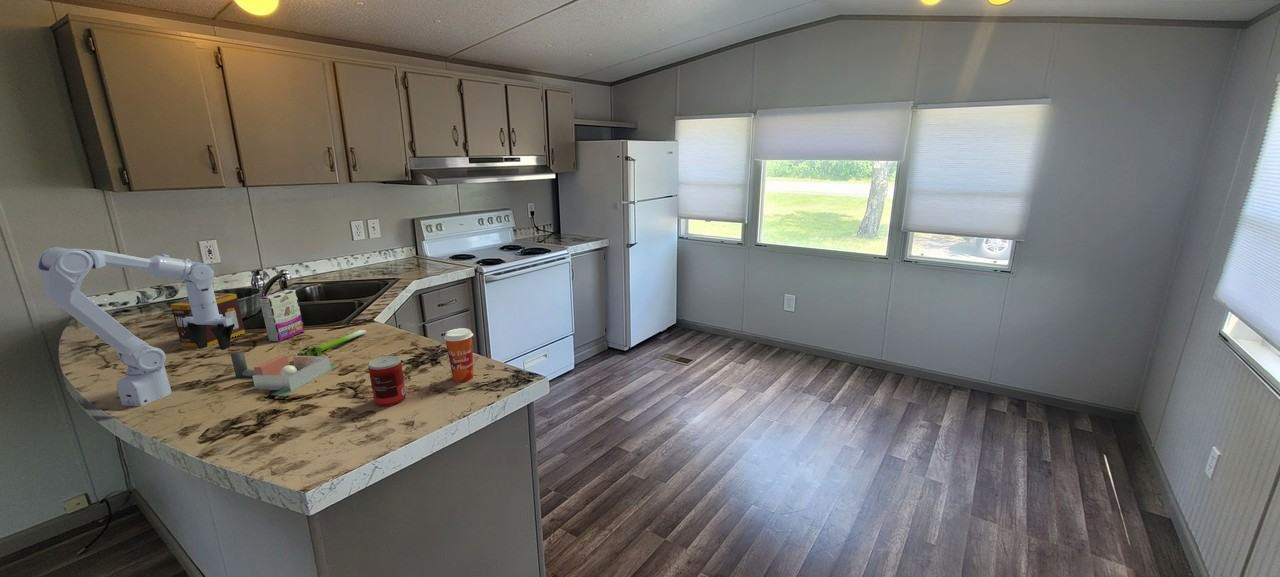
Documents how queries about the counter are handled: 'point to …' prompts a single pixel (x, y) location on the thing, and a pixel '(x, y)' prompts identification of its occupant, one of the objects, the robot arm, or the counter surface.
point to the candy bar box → (282, 315)
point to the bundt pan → (244, 299)
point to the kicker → (258, 366)
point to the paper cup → (460, 353)
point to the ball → (288, 370)
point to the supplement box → (225, 307)
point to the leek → (329, 344)
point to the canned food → (387, 380)
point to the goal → (294, 374)
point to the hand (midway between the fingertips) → (214, 348)
